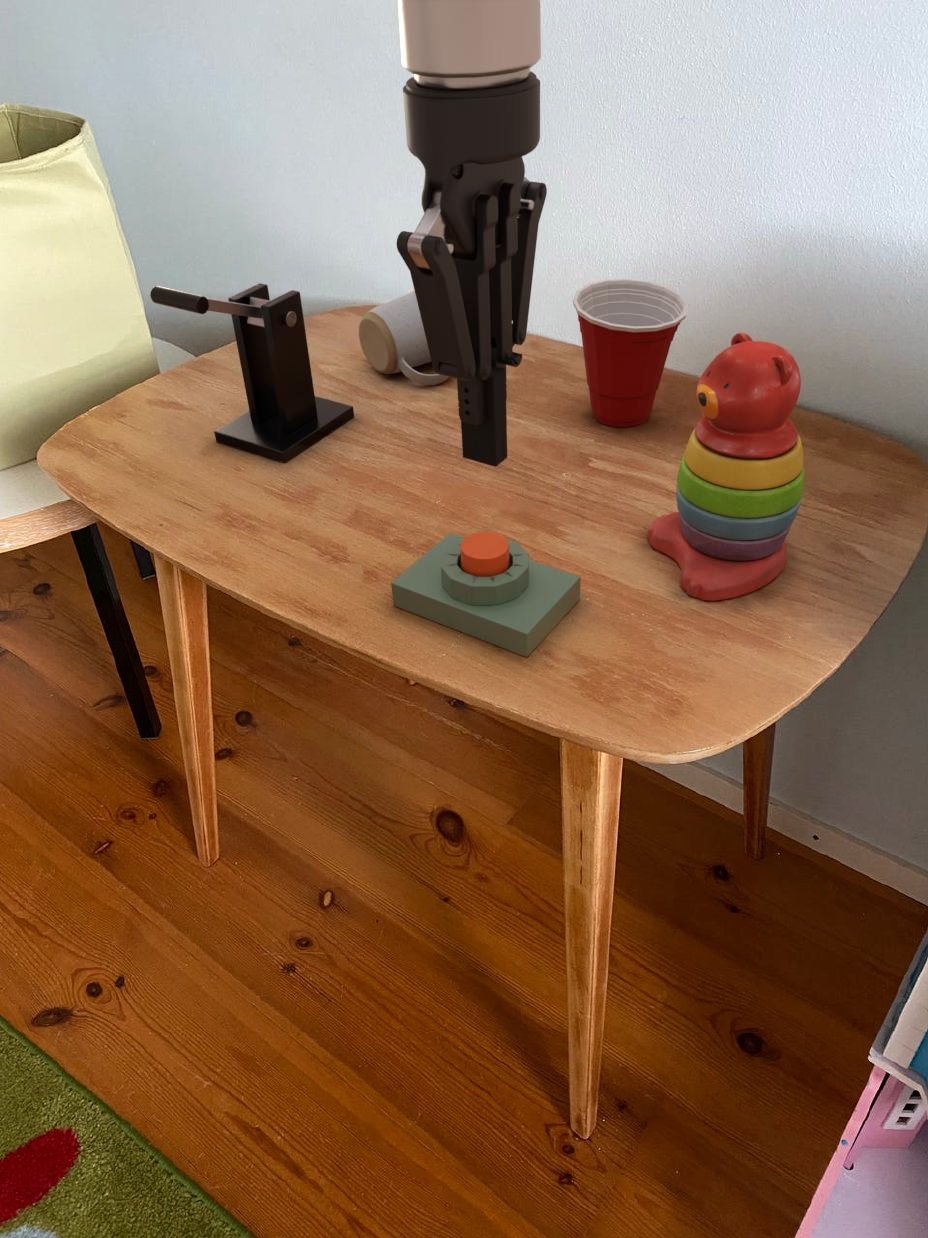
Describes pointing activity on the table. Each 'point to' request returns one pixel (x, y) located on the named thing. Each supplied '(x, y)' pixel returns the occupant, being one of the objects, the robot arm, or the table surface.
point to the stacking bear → (737, 474)
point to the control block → (488, 596)
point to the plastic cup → (626, 345)
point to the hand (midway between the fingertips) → (485, 457)
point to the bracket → (278, 383)
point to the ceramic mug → (397, 339)
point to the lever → (208, 304)
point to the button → (484, 554)
